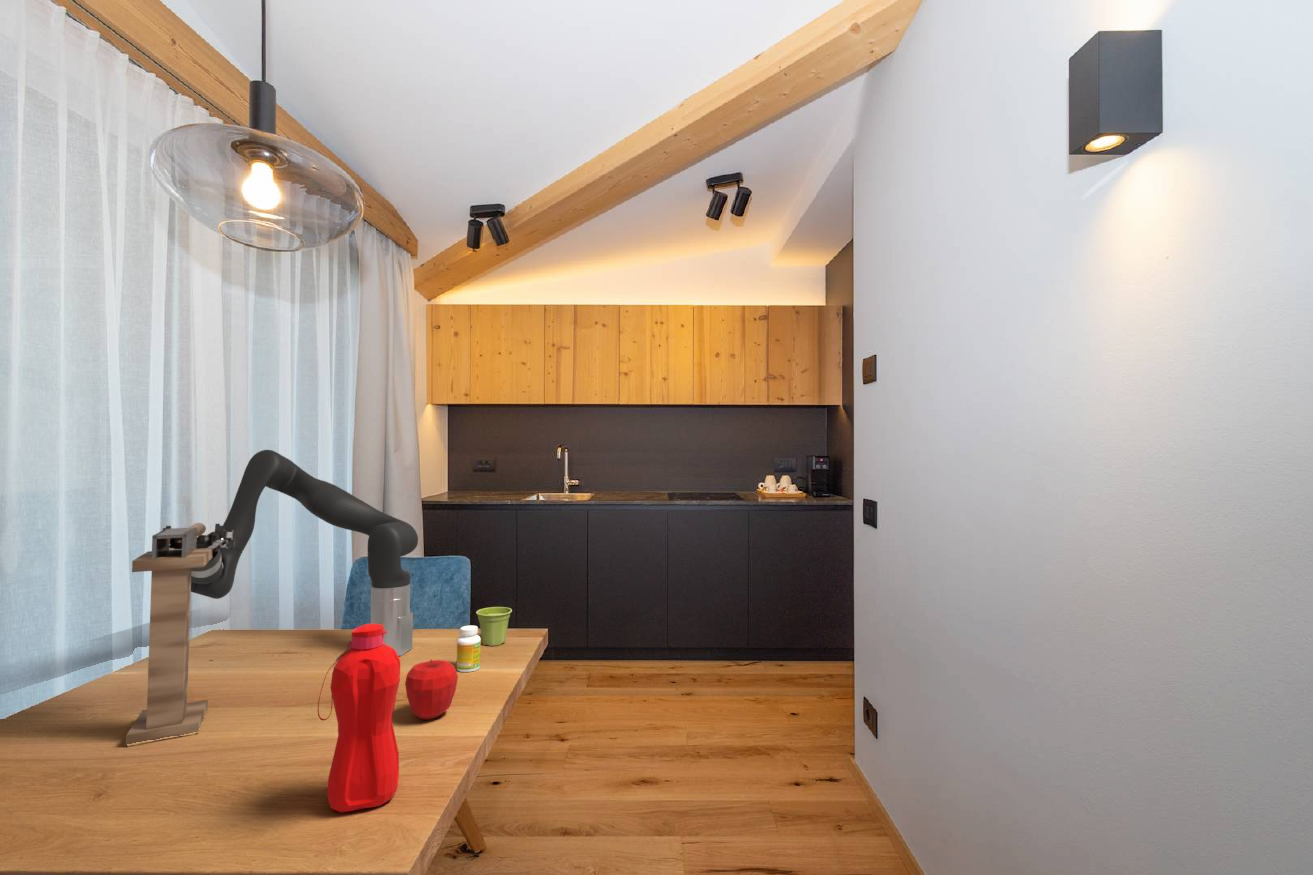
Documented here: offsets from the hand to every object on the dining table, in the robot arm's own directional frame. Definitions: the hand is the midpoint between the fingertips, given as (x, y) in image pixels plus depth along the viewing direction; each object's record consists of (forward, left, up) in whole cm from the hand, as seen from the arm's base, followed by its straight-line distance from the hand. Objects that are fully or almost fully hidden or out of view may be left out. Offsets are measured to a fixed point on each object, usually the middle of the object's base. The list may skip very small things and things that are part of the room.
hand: (192, 528), depth 129 cm
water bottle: (-59, +35, -35) cm, 77 cm away
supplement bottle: (-54, -19, -35) cm, 67 cm away
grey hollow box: (-11, +16, -3) cm, 20 cm away
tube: (-3, +4, -2) cm, 5 cm away
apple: (-57, +7, -35) cm, 68 cm away
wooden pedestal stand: (-11, +16, -35) cm, 40 cm away
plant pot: (-53, -39, -35) cm, 75 cm away
